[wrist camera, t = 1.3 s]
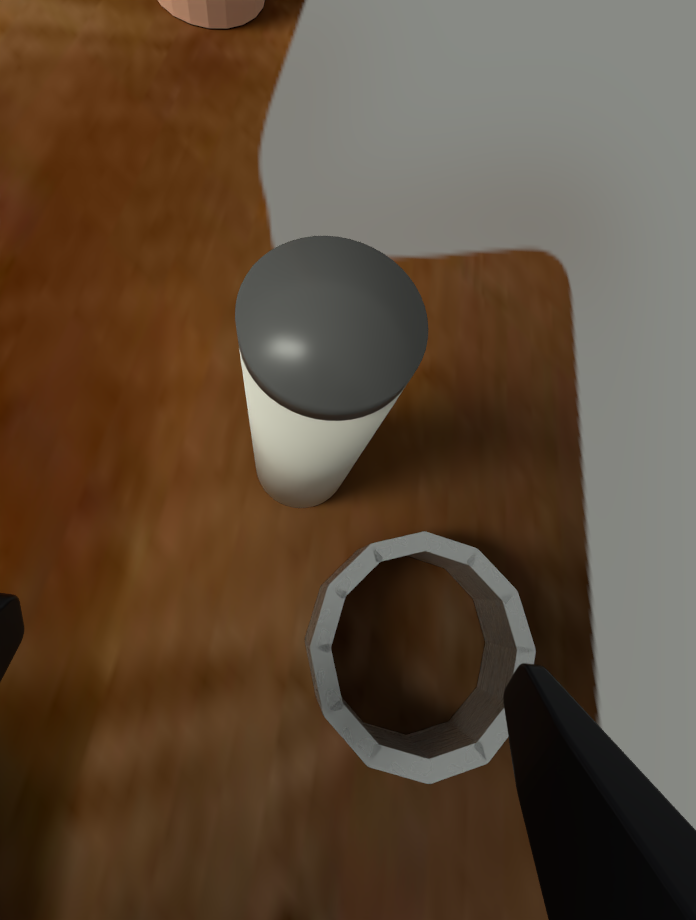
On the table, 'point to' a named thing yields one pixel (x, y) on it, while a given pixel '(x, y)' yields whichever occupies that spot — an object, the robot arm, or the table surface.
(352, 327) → the peg
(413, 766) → the collar
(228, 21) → the pepper shaker
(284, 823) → the table surface
